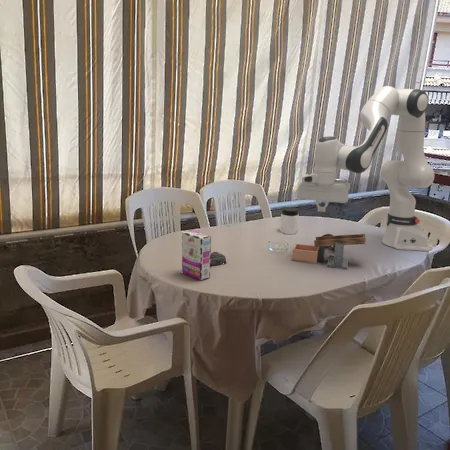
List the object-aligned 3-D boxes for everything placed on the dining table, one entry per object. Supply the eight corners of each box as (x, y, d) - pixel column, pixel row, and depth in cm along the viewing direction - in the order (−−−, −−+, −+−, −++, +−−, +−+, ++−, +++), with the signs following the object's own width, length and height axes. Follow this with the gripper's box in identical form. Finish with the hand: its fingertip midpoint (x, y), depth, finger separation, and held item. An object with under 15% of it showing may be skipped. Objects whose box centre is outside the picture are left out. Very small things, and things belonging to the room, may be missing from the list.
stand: (348, 259, 197) (351, 236, 194) (347, 269, 185) (349, 245, 182) (320, 255, 200) (322, 233, 198) (316, 265, 188) (318, 242, 186)
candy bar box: (211, 278, 173) (211, 235, 168) (200, 281, 169) (201, 238, 165) (191, 269, 180) (191, 229, 176) (181, 272, 177) (181, 231, 172)
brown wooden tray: (365, 239, 191) (365, 232, 190) (365, 245, 183) (364, 238, 182) (316, 242, 197) (316, 236, 196) (314, 248, 189) (313, 241, 189)
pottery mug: (343, 254, 205) (337, 240, 201) (323, 261, 207) (316, 247, 204) (339, 239, 215) (333, 226, 212) (319, 247, 218) (313, 233, 214)
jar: (284, 228, 240) (285, 206, 237) (299, 231, 237) (300, 208, 234) (278, 233, 233) (279, 209, 229) (293, 235, 229) (295, 212, 226)
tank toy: (201, 269, 182) (201, 257, 181) (192, 262, 190) (192, 250, 189) (228, 265, 187) (229, 253, 186) (218, 258, 195) (219, 246, 194)
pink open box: (318, 257, 198) (319, 246, 197) (316, 263, 191) (317, 252, 189) (295, 254, 201) (295, 243, 200) (292, 260, 193) (292, 249, 192)
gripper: (351, 178, 185) (347, 212, 189) (300, 175, 191) (297, 207, 195) (350, 181, 179) (347, 215, 183) (297, 177, 185) (295, 210, 189)
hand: (321, 211), depth 189 cm, fingers closed
